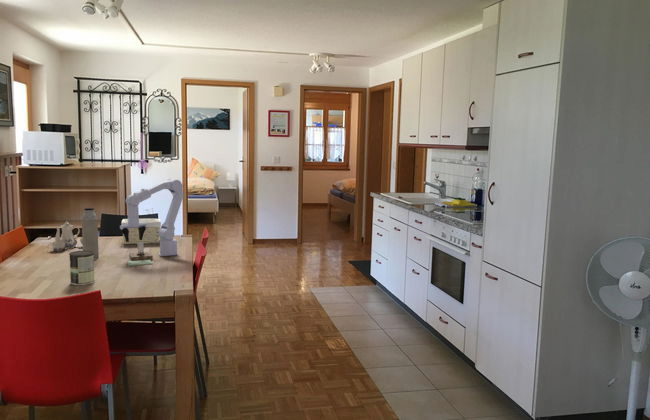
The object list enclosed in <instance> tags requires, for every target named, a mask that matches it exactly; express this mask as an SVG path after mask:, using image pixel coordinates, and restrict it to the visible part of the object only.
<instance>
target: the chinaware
mask: <svg viewBox="0 0 650 420" xmlns="http://www.w3.org/2000/svg"><path fill="white" fill-rule="evenodd" d="M60 227H61V229H60V228H59V226H56V227H55V228H56V234H55V238H54V241H51V242H49V244H48V245H47V249H48V250H50V251H51V250H52V251H55V252H62V250H63V248H67V250H68V248H69V249H75V248H76V246H77V245H78V241H77V239H79V241H80V244H81V245H82V246H83V242H82V238H81V237H80V238H78V236H79V234H80V232H81V230H80V227H79V226H76V225H72V224H70V223H69V221H67V220H66V221H65V223H64V224H62V225H60ZM75 228H77V229H78V231H77V234H75V235H74V233H73V230H74V229H75ZM60 232H61V233H60ZM49 246H51V247H52V248H49ZM74 247H75V248H74Z"/></svg>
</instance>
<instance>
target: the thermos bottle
mask: <svg viewBox="0 0 650 420" xmlns="http://www.w3.org/2000/svg"><path fill="white" fill-rule="evenodd" d="M83 209H84V212H83V214H82V218H81V234H82V235H81V237H82V242H83V245H82V251H84V250H87V251H93V252H94V260H96V259H99V256H100V254H99V253H100V252H99V226H98V225H99V224H98V217H97V214H96V213H95V208H93V207H86V208H83Z"/></svg>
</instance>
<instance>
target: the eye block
mask: <svg viewBox="0 0 650 420" xmlns="http://www.w3.org/2000/svg"><path fill="white" fill-rule="evenodd" d="M128 256H129V261H137V260H151V261H153V260H154V259H153V254H152V253H151V252H150V251H146V252H145V251H144V255H139V256H138V252H131V253H130V252H129V255H128Z"/></svg>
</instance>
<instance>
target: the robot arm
mask: <svg viewBox="0 0 650 420" xmlns="http://www.w3.org/2000/svg"><path fill="white" fill-rule="evenodd" d="M183 187H184V185H183V183H182V181H181V180H179V179H172V178H168V179H167V180H163V181H162V182H160V183H158V184H156V185H154V186H152V187H150V188H141V189H140V190H139V191H137V192H133V194H129V195H128V196H126V199H125V203H126V206H127V219H128V224H127V225H122V224H121V225H119V229H120V231H121V232H122V235H123V234H124V236H125V239H126V242H129V230H128V228H138V230H139V240H142V238H143V234H144V232H145V230H146V227H147V223H139V219H140V216H139V215H140V214H139V205H140V203H142V202H144V201H146V200H148V199H150V198H151V197H152V195H154V194H156V193H158V192H161V191H163V190H168V191H169V192H170V194H171V195H172V199H171V202H170V205H169V208H168V211H167V214H166V217H165V220H164V222H163V223H161V227H160V229H159V230H158V235H159V252H158V255H159V256H160V257H167V256H177V255H178V244H177V243H178V242H177V239H176V238H174V237H175V230H176V228H175V222H176V219H177V217H178V214H179V212H180V211H179V210H180V207H181V205H182V201H183V198H184V191H183V190H184V189H183Z"/></svg>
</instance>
